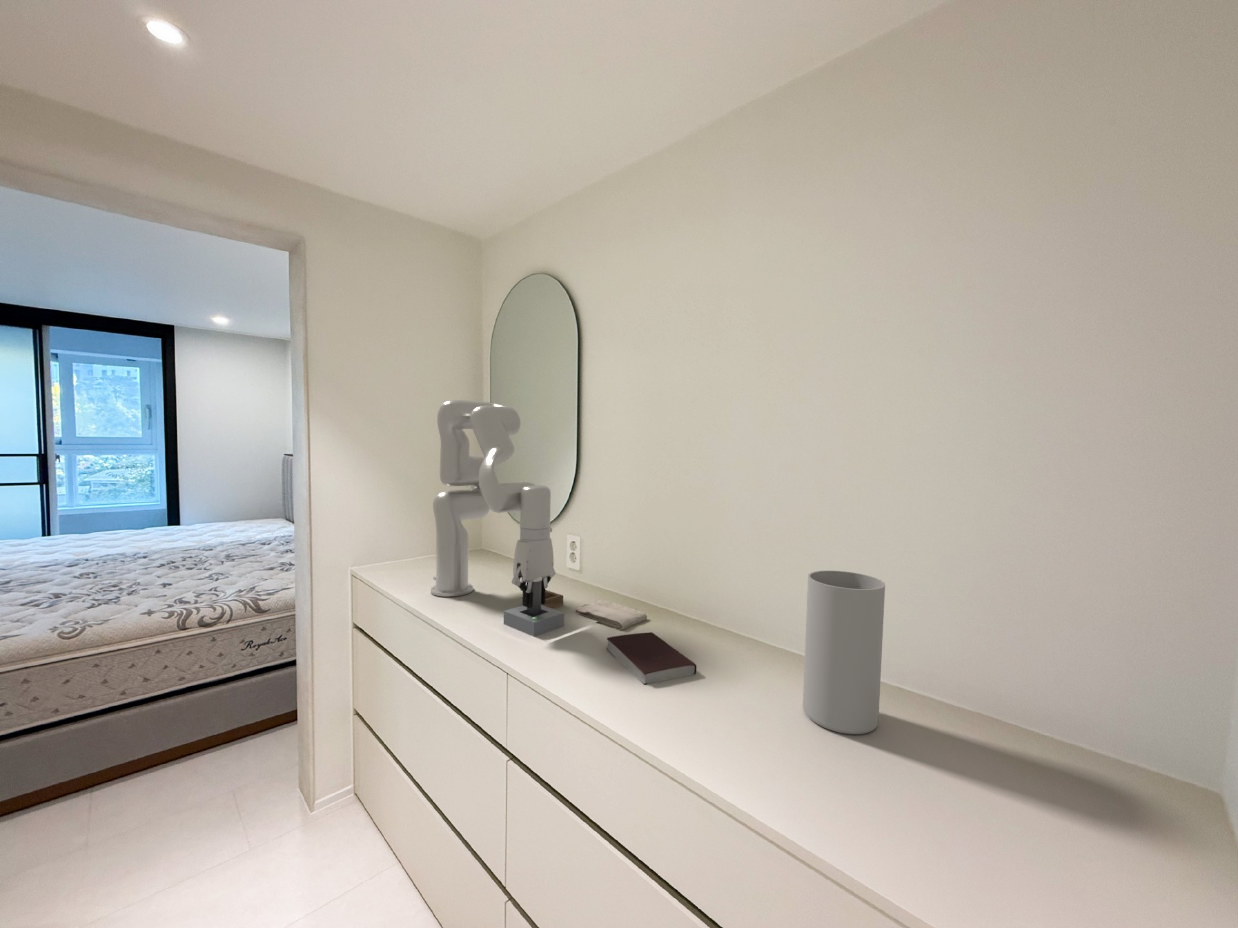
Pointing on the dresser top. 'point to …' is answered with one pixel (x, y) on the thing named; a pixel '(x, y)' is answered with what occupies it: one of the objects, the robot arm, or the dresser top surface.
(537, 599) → the grey and white cylinder
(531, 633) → the port
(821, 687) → the cylinder vase
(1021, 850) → the dresser top surface
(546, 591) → the holster
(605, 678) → the dresser top surface
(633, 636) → the book
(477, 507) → the robot arm
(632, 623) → the washcloth
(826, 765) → the dresser top surface
